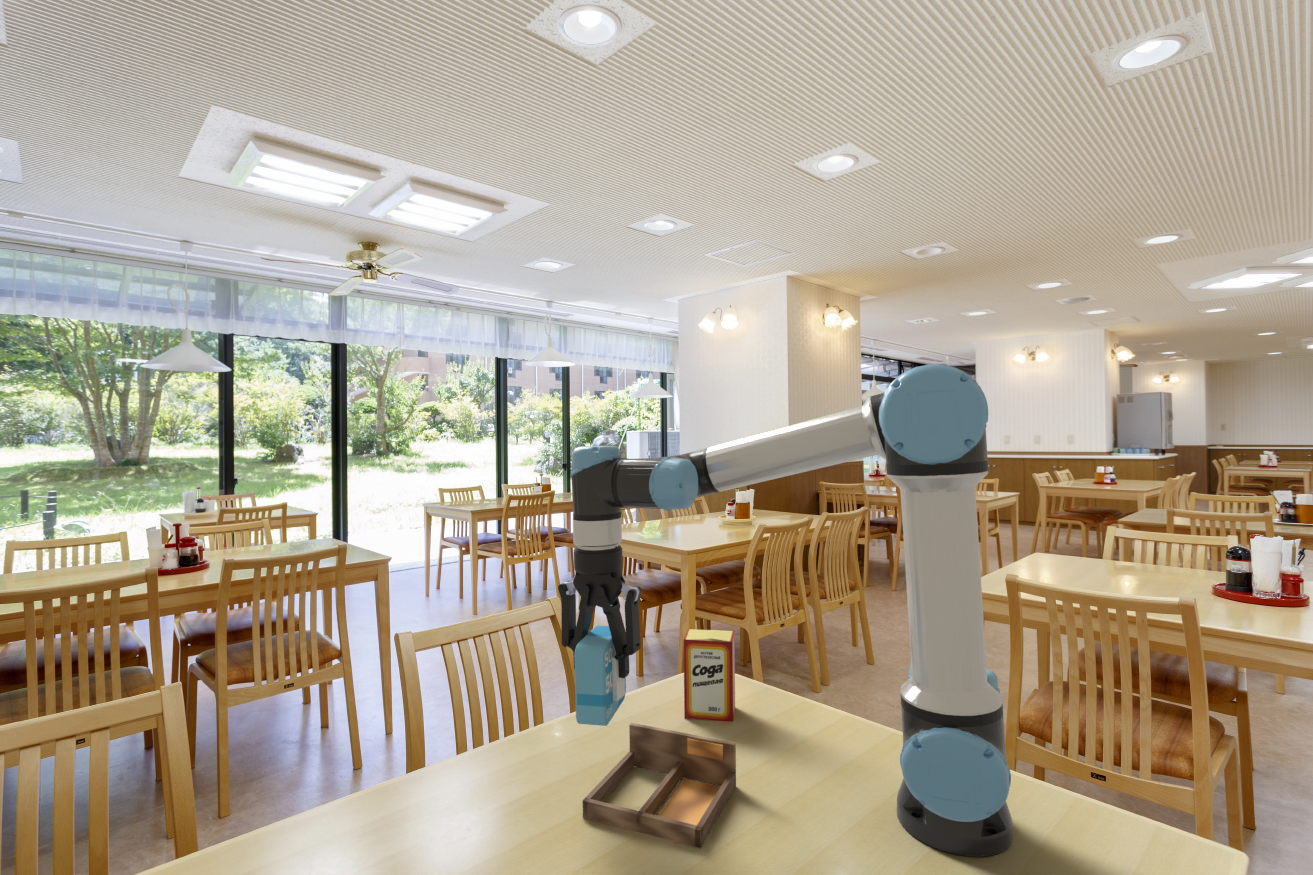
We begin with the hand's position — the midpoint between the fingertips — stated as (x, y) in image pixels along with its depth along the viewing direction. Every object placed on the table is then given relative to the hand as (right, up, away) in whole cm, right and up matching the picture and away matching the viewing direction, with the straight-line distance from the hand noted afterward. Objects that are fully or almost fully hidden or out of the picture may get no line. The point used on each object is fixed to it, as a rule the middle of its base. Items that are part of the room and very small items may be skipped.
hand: (602, 694), depth 102 cm
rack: (+9, -16, -1) cm, 18 cm away
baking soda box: (+19, -15, +29) cm, 38 cm away
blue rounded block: (0, -3, 0) cm, 3 cm away
